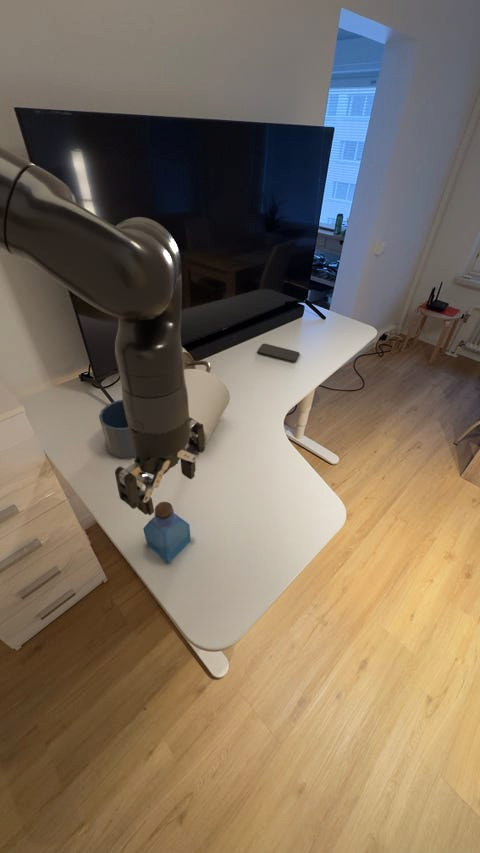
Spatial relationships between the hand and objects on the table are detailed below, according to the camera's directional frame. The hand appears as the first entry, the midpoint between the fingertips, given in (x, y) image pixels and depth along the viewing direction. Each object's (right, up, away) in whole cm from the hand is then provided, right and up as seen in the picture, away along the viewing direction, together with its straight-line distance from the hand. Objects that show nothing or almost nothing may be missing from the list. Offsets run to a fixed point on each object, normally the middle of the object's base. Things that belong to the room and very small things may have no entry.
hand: (168, 492), depth 52 cm
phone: (+26, +38, +77) cm, 90 cm away
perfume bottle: (-4, -14, +18) cm, 23 cm away
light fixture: (-2, +14, +49) cm, 51 cm away
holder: (-18, +6, +38) cm, 43 cm away
